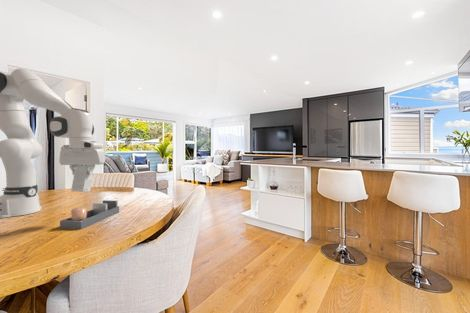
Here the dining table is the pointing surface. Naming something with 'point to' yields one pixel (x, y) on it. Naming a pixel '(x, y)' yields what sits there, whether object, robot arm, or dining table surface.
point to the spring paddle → (99, 208)
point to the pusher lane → (91, 217)
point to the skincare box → (82, 179)
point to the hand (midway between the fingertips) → (82, 174)
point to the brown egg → (78, 214)
